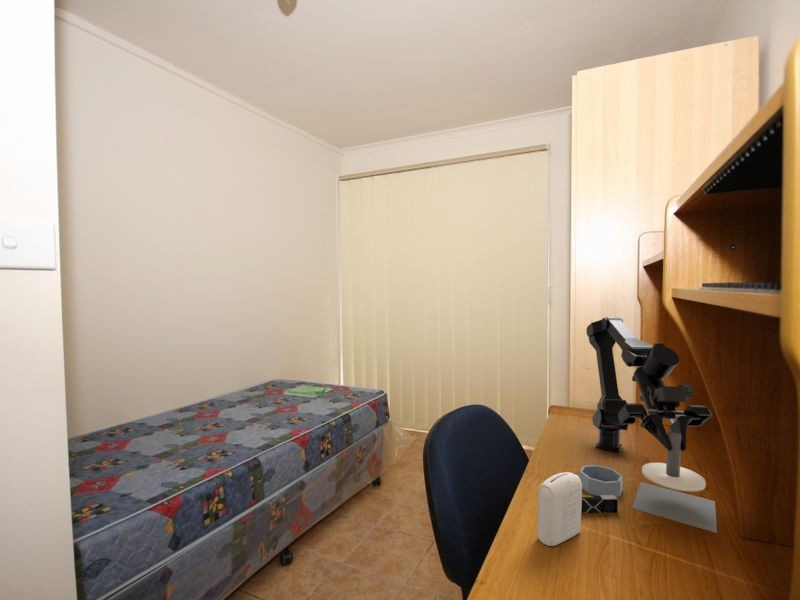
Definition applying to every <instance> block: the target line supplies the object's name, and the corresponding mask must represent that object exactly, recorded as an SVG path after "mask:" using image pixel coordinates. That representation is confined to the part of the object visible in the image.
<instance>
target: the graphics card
mask: <svg viewBox="0 0 800 600" xmlns="http://www.w3.org/2000/svg"><path fill="white" fill-rule="evenodd" d="M606 512H607V513H617V514H618V513H619V499H618V497H615V496H614V495H600V496H596V495H582V507H581V514H599V513H600V514H603V513H606Z"/></svg>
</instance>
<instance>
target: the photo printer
mask: <svg viewBox="0 0 800 600" xmlns="http://www.w3.org/2000/svg"><path fill="white" fill-rule="evenodd" d="M537 496H538V497H537V524H536V525H537V526H536V527H537V529H536V530H537V531H536V532H537V533H536V534H537V535H536V536H537V538H538V539H539V541H540V542H541V543H542V544H543V545H546V546H548V547H551V546H552V547H553V546H557V545H559V544H562V543H564V542H566V541H567V540H569V539H571V538H573V537H575V536H576V535H577V534H579V533H580V532H581V529H582V513H581V507H582V496H583V488H582V482H581V480H580V478H579V476H578V475H577V474H574V473H573V472H570V471H569V472H568V471H565V472H559V473H556V474H554V475H552V476H550V477H549V478H546V480H544V481H542V483H541V484H540V486H539V488H538V495H537Z"/></svg>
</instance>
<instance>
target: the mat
mask: <svg viewBox="0 0 800 600" xmlns="http://www.w3.org/2000/svg"><path fill="white" fill-rule="evenodd" d="M716 508H717V507H716V501H715V500H712V499H709V498H705V497H700V496H696V495H693V494H688V493H684V492H682V491H679V490H675V489H670V488H667V487H663V486H662V487H661V486H658V485H654V484H650V483H646V482H642V481H639V484H638V488H637V492H636V494H635V497H634V502H633V504H632V509H633V510H636V511H640V512H642V513H643V512H645V513H648V514H650V515H652V516H653V515H654V516H657V517H661V518H665V519H668V520H671V521H673V522H678V523H681V524H685V525H688V526H691V527H694V528H697V529H702V530H705V531H709V532H711V533H716V534H718V528H717V527H718V526H717V525H718V524H717V513H716V512H717V511H716Z"/></svg>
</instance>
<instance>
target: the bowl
mask: <svg viewBox="0 0 800 600" xmlns="http://www.w3.org/2000/svg"><path fill="white" fill-rule="evenodd" d="M578 477H579V478H580V480H581V482H582V490H584V491H585V492H586V493H587V494H588V495H589V494H590V495H591V496H600V495H614V496H615V497H616V498H621V495H622V493H623V482H624V481H623V478H624V477H623V475H622V474H621V473H619V472H618V471H616V470H615V469H613V468H612V467H611V468H610V467H606V466H602V465H598V464H589V465H582V467H581V468H580V469H579V476H578Z"/></svg>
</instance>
